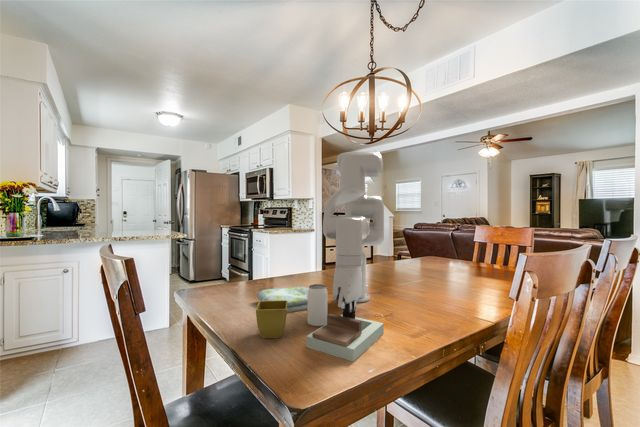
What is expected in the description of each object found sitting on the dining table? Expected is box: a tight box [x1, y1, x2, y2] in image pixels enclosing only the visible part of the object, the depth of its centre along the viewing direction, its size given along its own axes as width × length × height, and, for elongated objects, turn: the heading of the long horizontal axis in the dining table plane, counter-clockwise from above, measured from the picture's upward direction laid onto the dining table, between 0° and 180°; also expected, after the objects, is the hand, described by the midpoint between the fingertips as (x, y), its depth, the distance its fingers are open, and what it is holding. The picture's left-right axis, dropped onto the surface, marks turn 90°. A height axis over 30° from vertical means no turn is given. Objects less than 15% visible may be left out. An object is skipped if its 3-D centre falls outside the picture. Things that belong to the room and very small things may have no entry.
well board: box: [306, 313, 385, 362], centre depth 85 cm, size 20×14×3 cm
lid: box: [311, 313, 363, 346], centre depth 80 cm, size 9×10×4 cm
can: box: [307, 283, 328, 327], centre depth 98 cm, size 6×6×12 cm
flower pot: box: [255, 300, 288, 339], centre depth 88 cm, size 9×9×9 cm
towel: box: [256, 286, 309, 314], centre depth 118 cm, size 18×21×5 cm
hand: (348, 324), depth 86 cm, fingers closed
